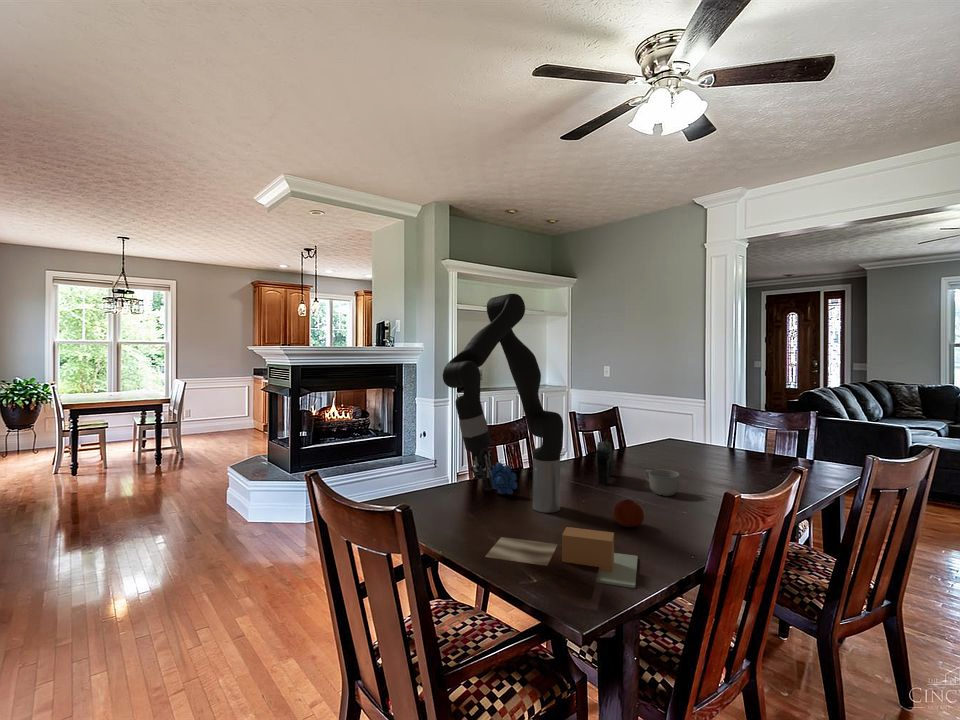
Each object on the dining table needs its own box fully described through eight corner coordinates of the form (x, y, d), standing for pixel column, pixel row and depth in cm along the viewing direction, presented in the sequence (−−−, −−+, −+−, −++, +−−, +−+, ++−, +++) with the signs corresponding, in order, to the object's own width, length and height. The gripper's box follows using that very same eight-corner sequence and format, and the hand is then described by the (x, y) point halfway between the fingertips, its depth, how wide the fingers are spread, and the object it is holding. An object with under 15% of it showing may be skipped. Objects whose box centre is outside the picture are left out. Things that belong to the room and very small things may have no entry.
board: (501, 542, 138) (501, 536, 138) (557, 549, 133) (557, 544, 133) (485, 562, 125) (485, 556, 125) (547, 571, 120) (547, 565, 120)
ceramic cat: (609, 486, 194) (609, 436, 194) (592, 485, 197) (592, 435, 196) (614, 474, 213) (615, 428, 212) (599, 473, 215) (599, 427, 215)
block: (566, 555, 128) (566, 526, 127) (613, 562, 124) (614, 532, 123) (561, 564, 122) (562, 535, 122) (611, 572, 118) (611, 541, 118)
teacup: (685, 496, 181) (686, 474, 181) (662, 499, 177) (662, 477, 177) (659, 486, 194) (659, 466, 194) (637, 489, 190) (637, 468, 190)
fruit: (607, 523, 153) (607, 497, 153) (630, 519, 156) (630, 494, 156) (625, 533, 145) (625, 506, 145) (649, 529, 148) (649, 502, 148)
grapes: (483, 496, 182) (483, 463, 181) (489, 491, 188) (489, 460, 188) (514, 499, 178) (514, 466, 178) (519, 494, 184) (519, 462, 184)
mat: (560, 547, 134) (560, 545, 134) (637, 558, 127) (637, 555, 127) (548, 574, 118) (548, 572, 118) (635, 588, 111) (635, 585, 111)
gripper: (470, 425, 145) (484, 481, 146) (454, 440, 132) (469, 500, 134) (494, 422, 142) (507, 478, 144) (479, 437, 130) (494, 498, 132)
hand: (489, 489), depth 139 cm, fingers closed
